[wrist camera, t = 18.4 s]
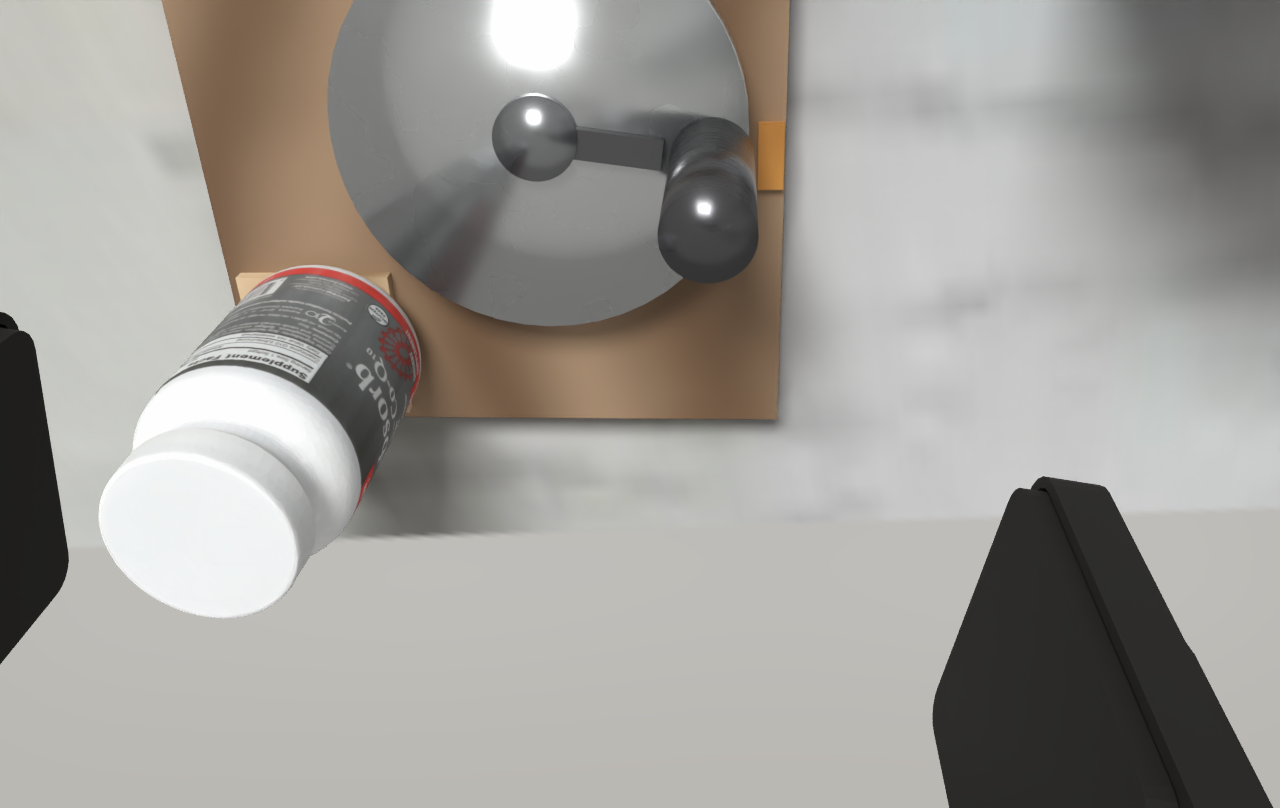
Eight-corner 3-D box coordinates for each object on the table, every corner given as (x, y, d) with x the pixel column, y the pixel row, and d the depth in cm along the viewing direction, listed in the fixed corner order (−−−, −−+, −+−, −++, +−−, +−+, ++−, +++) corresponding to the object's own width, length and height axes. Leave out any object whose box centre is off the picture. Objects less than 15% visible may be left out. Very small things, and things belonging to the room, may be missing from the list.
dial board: (791, -139, 28) (794, -133, 26) (776, 400, 35) (777, 426, 34) (156, -117, 29) (127, -111, 28) (275, 397, 37) (257, 422, 35)
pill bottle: (425, 435, 35) (326, 654, 27) (248, 412, 35) (92, 623, 27) (426, 270, 32) (315, 454, 24) (233, 245, 32) (52, 421, 24)
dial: (722, 335, 32) (720, 454, 27) (343, 284, 32) (263, 392, 27) (790, -68, 27) (806, -23, 21) (332, -129, 27) (229, -99, 21)
